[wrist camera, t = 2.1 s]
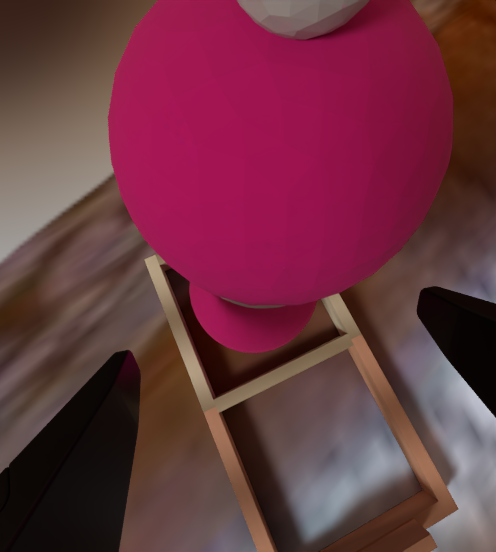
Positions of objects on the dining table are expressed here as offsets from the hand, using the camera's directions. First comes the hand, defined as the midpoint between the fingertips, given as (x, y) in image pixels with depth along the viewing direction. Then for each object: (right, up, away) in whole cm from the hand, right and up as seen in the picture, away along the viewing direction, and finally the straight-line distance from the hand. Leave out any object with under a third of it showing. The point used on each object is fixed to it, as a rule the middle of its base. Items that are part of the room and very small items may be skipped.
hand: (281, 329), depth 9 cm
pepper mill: (-1, 0, +12) cm, 12 cm away
